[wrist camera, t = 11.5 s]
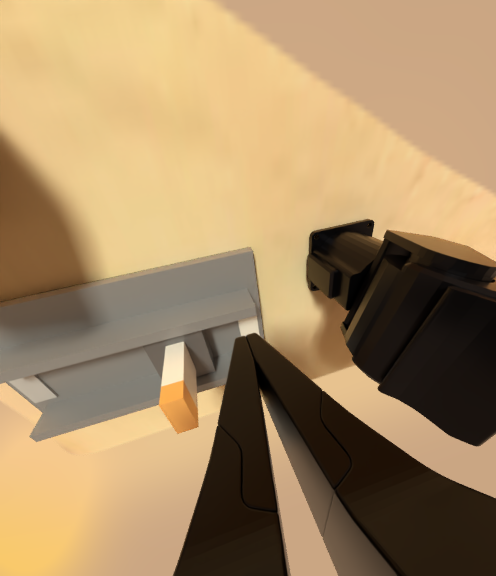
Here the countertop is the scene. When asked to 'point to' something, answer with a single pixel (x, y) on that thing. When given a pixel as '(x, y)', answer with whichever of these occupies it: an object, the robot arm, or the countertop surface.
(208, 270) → the housing
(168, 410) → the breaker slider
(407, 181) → the countertop surface
